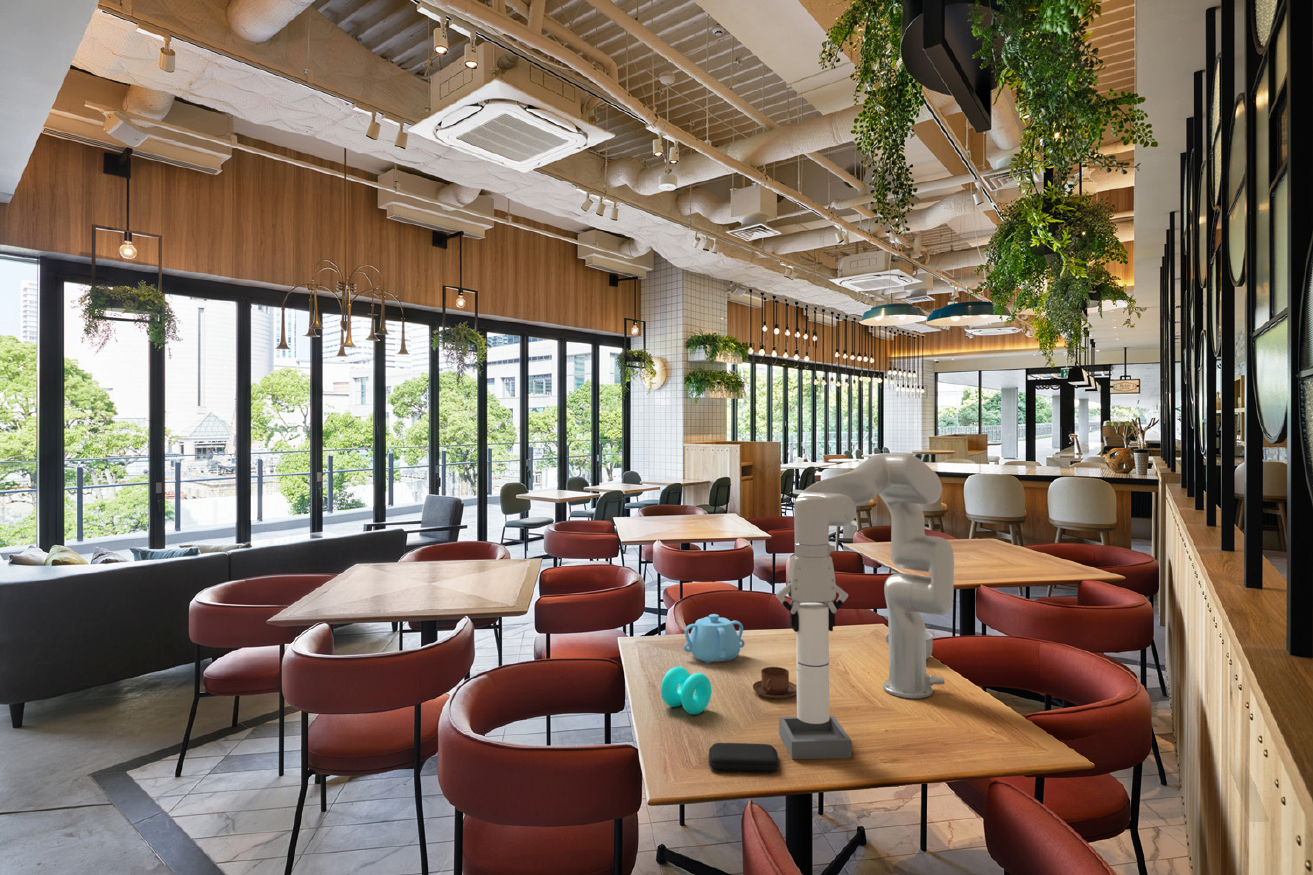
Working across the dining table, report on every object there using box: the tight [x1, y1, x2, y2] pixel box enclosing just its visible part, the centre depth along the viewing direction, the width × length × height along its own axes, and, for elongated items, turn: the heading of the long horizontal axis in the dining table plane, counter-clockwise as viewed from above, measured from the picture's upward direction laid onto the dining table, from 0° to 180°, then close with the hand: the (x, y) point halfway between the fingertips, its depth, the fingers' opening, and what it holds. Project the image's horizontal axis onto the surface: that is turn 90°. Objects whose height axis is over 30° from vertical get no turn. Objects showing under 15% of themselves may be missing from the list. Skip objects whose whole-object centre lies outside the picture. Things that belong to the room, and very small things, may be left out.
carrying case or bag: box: [708, 742, 780, 774], centre depth 147 cm, size 11×3×15 cm
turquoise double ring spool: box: [660, 666, 712, 715], centre depth 176 cm, size 10×10×10 cm
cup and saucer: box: [752, 666, 797, 699], centre depth 186 cm, size 12×12×6 cm
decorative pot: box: [683, 613, 745, 664], centre depth 216 cm, size 16×16×14 cm
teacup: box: [884, 630, 934, 660], centre depth 214 cm, size 14×11×8 cm
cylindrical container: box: [795, 602, 830, 724], centre depth 155 cm, size 7×7×25 cm
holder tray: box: [778, 715, 853, 760], centre depth 155 cm, size 13×13×4 cm
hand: (812, 629), depth 155 cm, fingers closed on cylindrical container, 7 cm apart
